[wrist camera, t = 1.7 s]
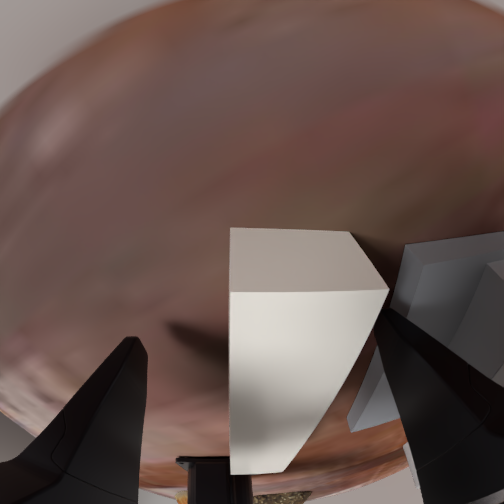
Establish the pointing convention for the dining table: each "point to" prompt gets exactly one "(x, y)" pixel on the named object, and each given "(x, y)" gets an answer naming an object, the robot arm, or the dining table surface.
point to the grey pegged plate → (444, 313)
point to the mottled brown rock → (282, 498)
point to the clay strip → (292, 336)
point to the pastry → (181, 497)
